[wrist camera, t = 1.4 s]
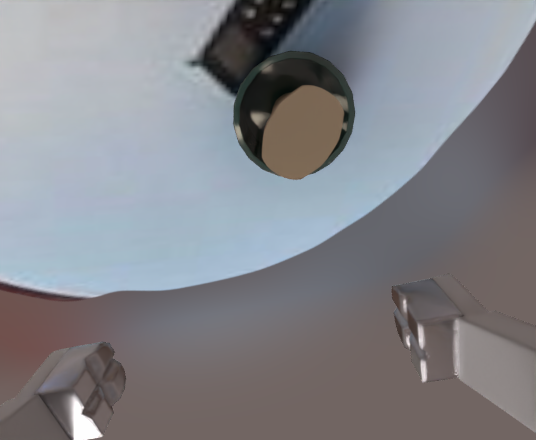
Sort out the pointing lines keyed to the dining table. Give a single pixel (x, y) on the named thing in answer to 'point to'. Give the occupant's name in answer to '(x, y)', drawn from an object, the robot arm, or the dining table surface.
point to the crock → (279, 83)
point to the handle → (301, 131)
